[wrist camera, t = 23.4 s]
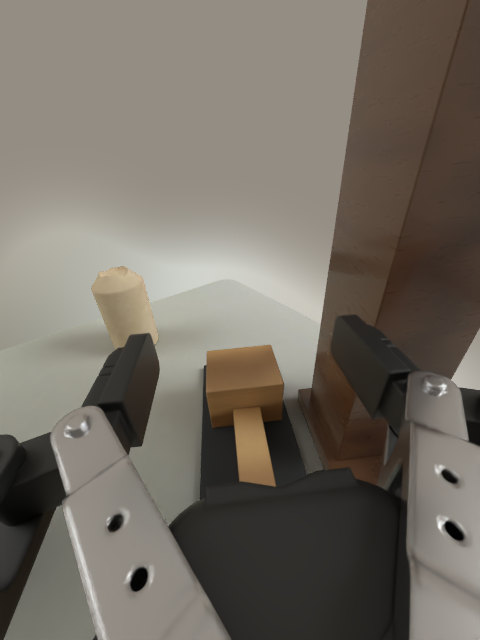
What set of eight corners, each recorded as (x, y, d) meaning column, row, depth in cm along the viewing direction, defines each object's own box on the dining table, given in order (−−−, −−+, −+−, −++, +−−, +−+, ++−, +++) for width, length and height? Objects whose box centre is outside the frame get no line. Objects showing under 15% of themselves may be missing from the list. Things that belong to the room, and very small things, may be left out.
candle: (152, 354, 31) (128, 278, 25) (107, 356, 31) (75, 281, 25) (163, 329, 35) (145, 261, 30) (125, 331, 35) (100, 263, 30)
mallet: (351, 670, 11) (376, 657, 8) (213, 694, 10) (198, 688, 8) (270, 378, 26) (270, 344, 23) (212, 384, 25) (206, 350, 23)
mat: (195, 677, 11) (193, 676, 11) (204, 368, 28) (204, 365, 28) (358, 648, 12) (360, 646, 11) (270, 361, 28) (270, 358, 28)
